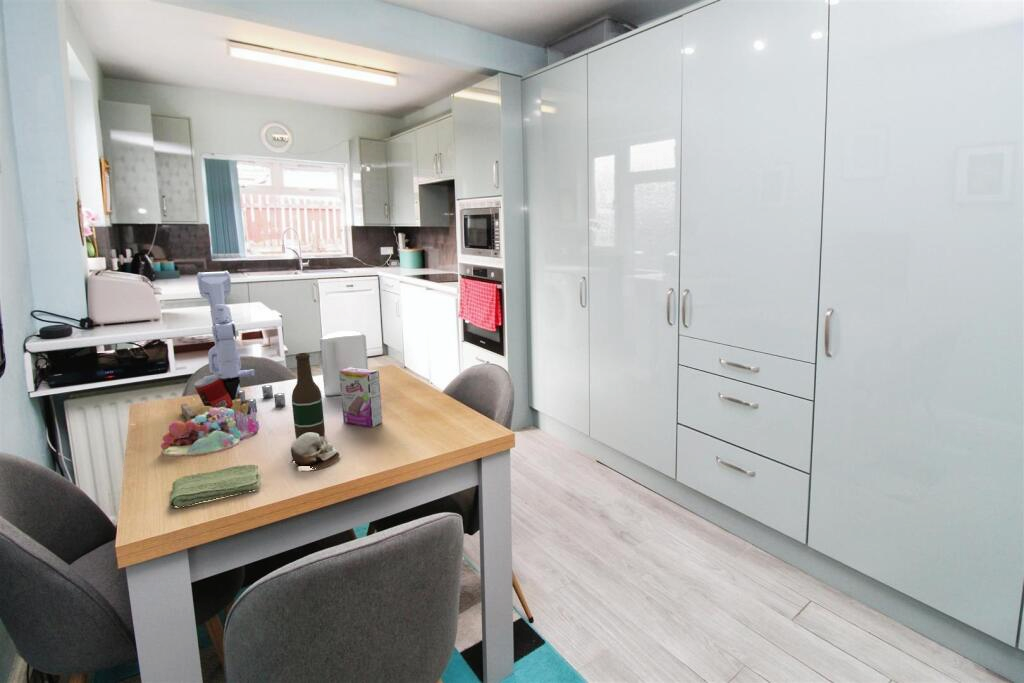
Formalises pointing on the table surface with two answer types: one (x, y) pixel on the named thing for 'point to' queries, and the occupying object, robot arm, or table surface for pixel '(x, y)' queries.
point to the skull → (313, 451)
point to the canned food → (213, 392)
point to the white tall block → (341, 357)
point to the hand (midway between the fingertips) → (233, 400)
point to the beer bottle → (307, 400)
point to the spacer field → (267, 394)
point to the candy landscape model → (210, 430)
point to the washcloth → (214, 485)
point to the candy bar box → (361, 396)
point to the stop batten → (187, 412)
